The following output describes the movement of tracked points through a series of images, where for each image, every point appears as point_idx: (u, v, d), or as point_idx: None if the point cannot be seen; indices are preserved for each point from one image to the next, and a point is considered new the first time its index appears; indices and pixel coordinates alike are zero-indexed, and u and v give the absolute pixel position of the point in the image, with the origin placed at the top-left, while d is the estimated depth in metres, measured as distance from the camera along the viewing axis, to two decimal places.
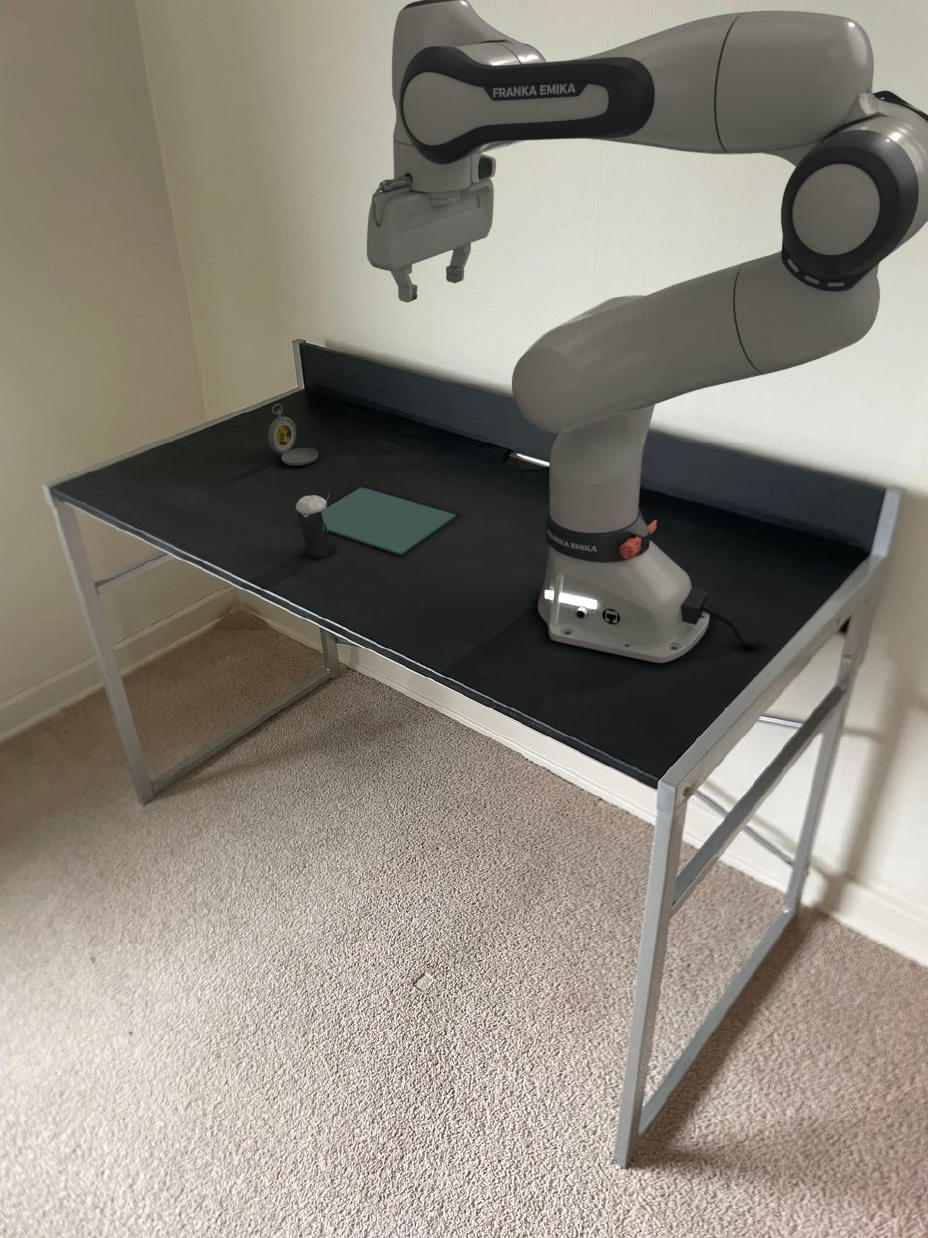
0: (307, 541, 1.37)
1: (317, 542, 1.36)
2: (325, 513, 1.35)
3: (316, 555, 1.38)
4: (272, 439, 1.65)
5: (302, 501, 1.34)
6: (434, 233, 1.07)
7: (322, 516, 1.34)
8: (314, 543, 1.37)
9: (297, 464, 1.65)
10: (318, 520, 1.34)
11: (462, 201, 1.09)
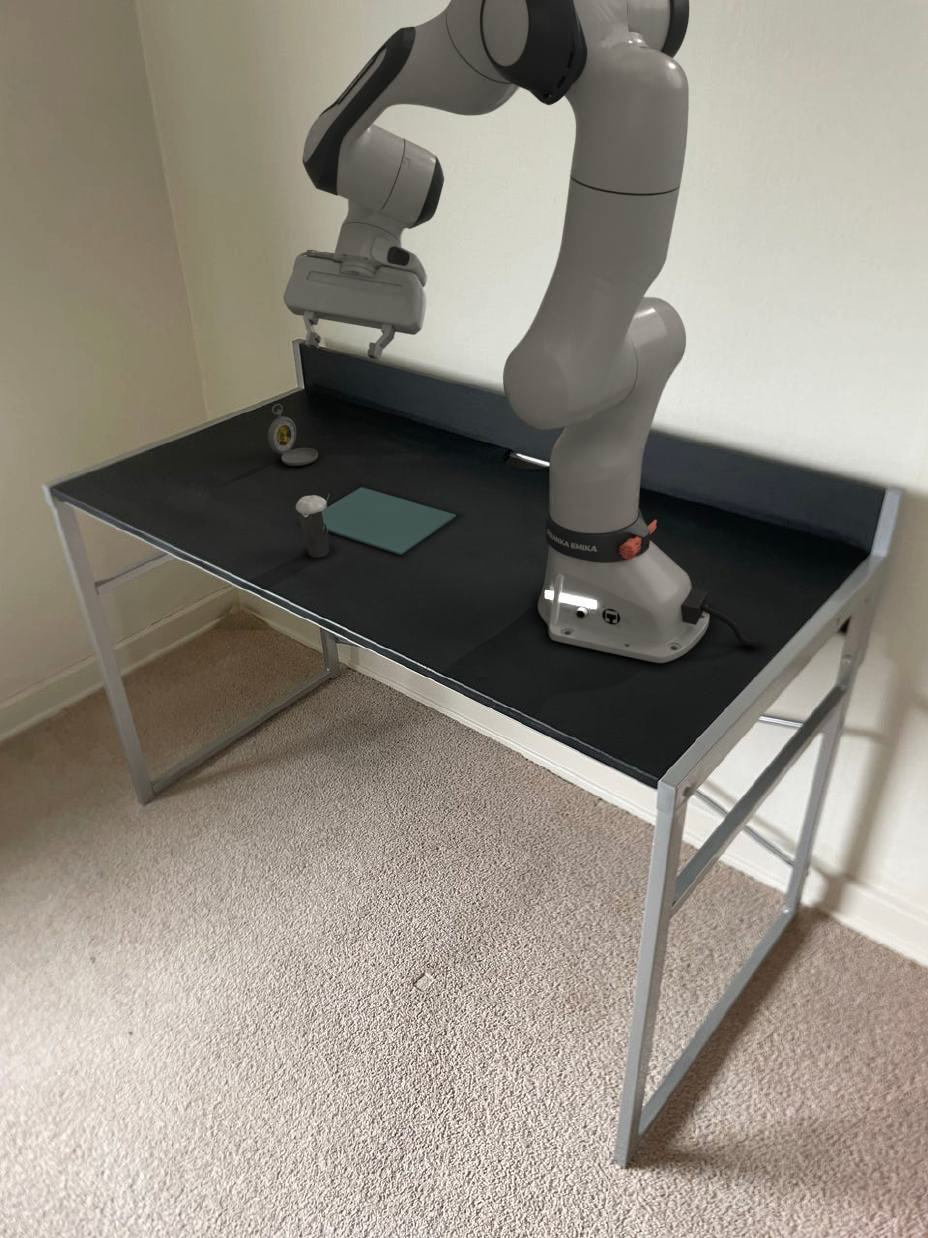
0: (307, 541, 1.37)
1: (317, 542, 1.36)
2: (325, 513, 1.35)
3: (316, 555, 1.38)
4: (272, 439, 1.65)
5: (302, 501, 1.34)
6: (338, 294, 1.28)
7: (322, 516, 1.34)
8: (314, 543, 1.37)
9: (297, 464, 1.65)
10: (318, 520, 1.34)
11: (381, 284, 1.28)
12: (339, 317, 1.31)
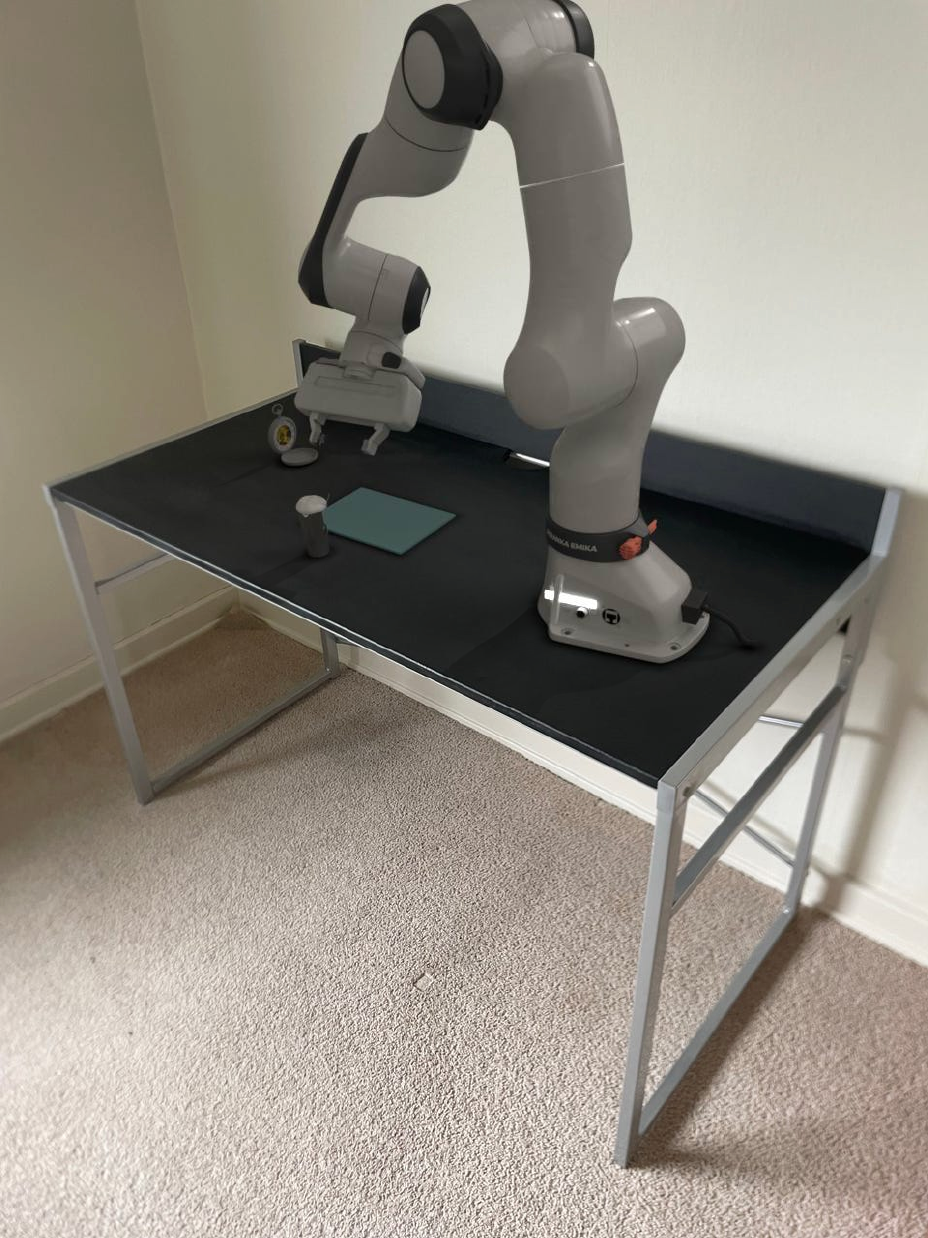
0: (307, 541, 1.37)
1: (317, 542, 1.36)
2: (325, 513, 1.35)
3: (316, 555, 1.38)
4: (272, 439, 1.65)
5: (302, 501, 1.34)
6: (340, 396, 1.38)
7: (322, 516, 1.34)
8: (314, 543, 1.37)
9: (297, 464, 1.65)
10: (318, 520, 1.34)
11: (377, 386, 1.36)
12: (343, 417, 1.40)
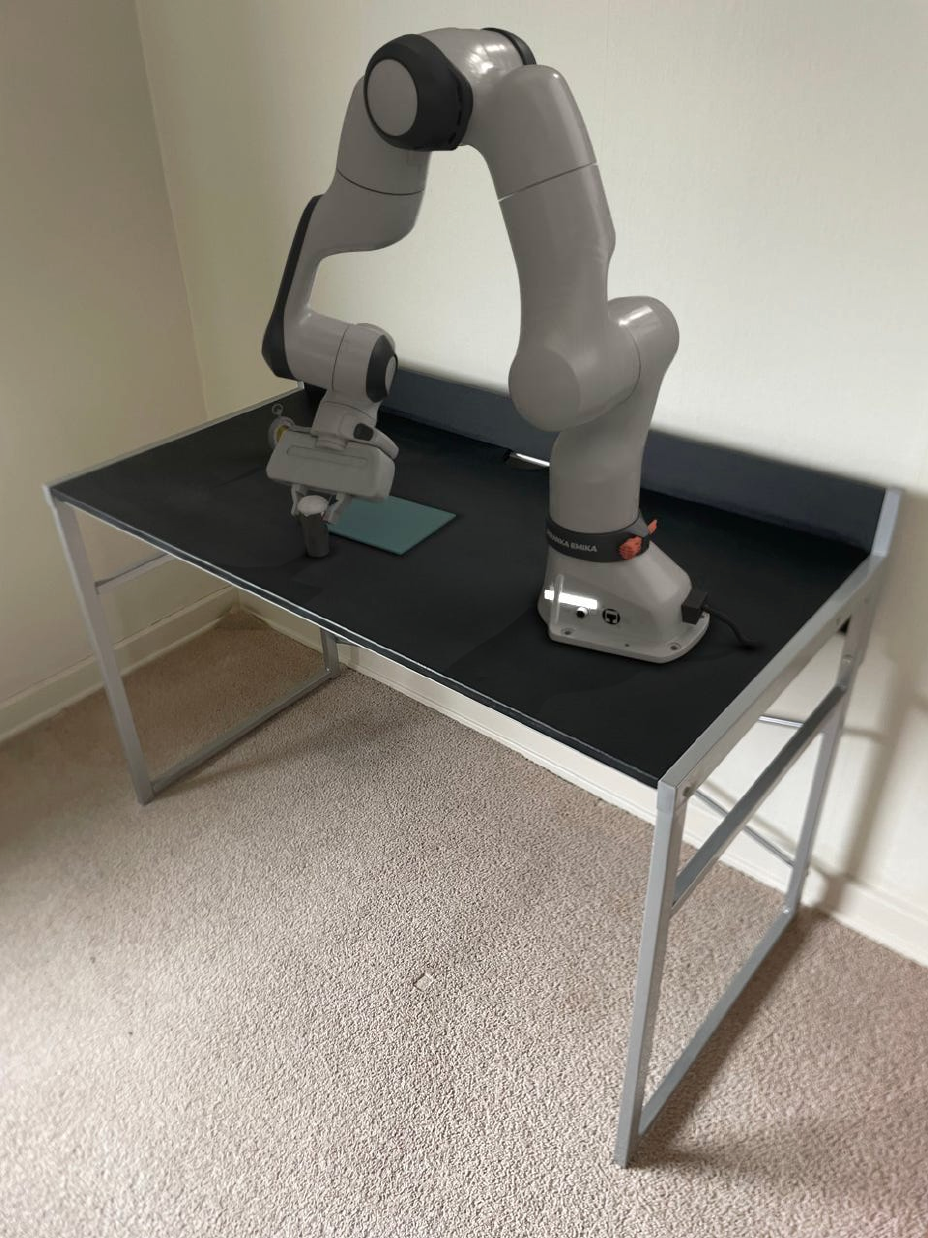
0: (308, 541, 1.37)
1: (317, 542, 1.36)
2: None
3: (316, 555, 1.38)
4: (272, 439, 1.65)
5: (304, 501, 1.34)
6: (312, 467, 1.36)
7: None
8: (314, 543, 1.36)
9: None
10: (319, 521, 1.34)
11: (350, 458, 1.34)
12: (316, 487, 1.38)
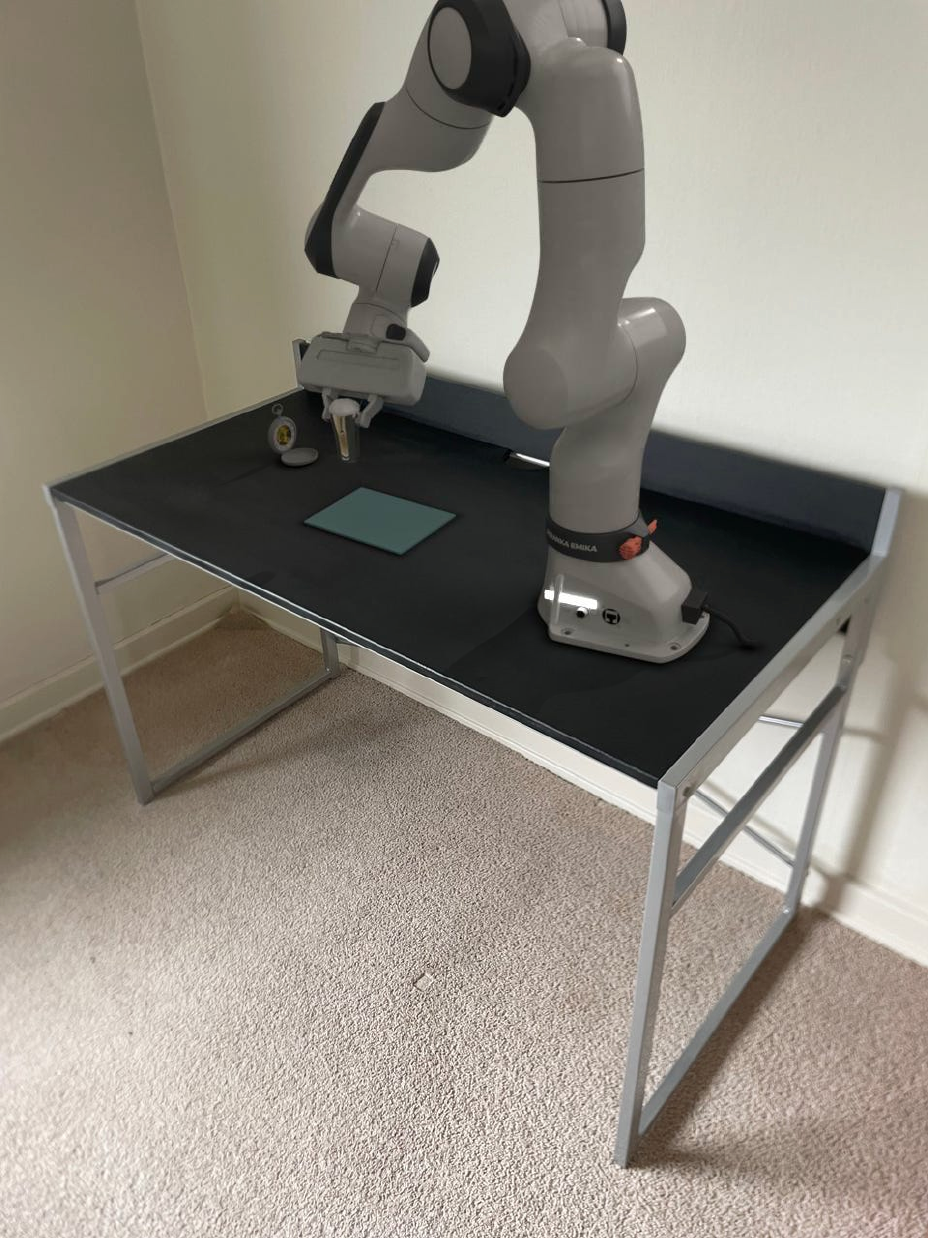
0: (339, 445, 1.36)
1: (349, 446, 1.36)
2: None
3: (346, 460, 1.37)
4: (272, 439, 1.65)
5: (336, 403, 1.33)
6: (343, 370, 1.35)
7: None
8: (345, 447, 1.36)
9: (297, 464, 1.65)
10: (351, 423, 1.34)
11: (382, 359, 1.33)
12: (346, 392, 1.37)
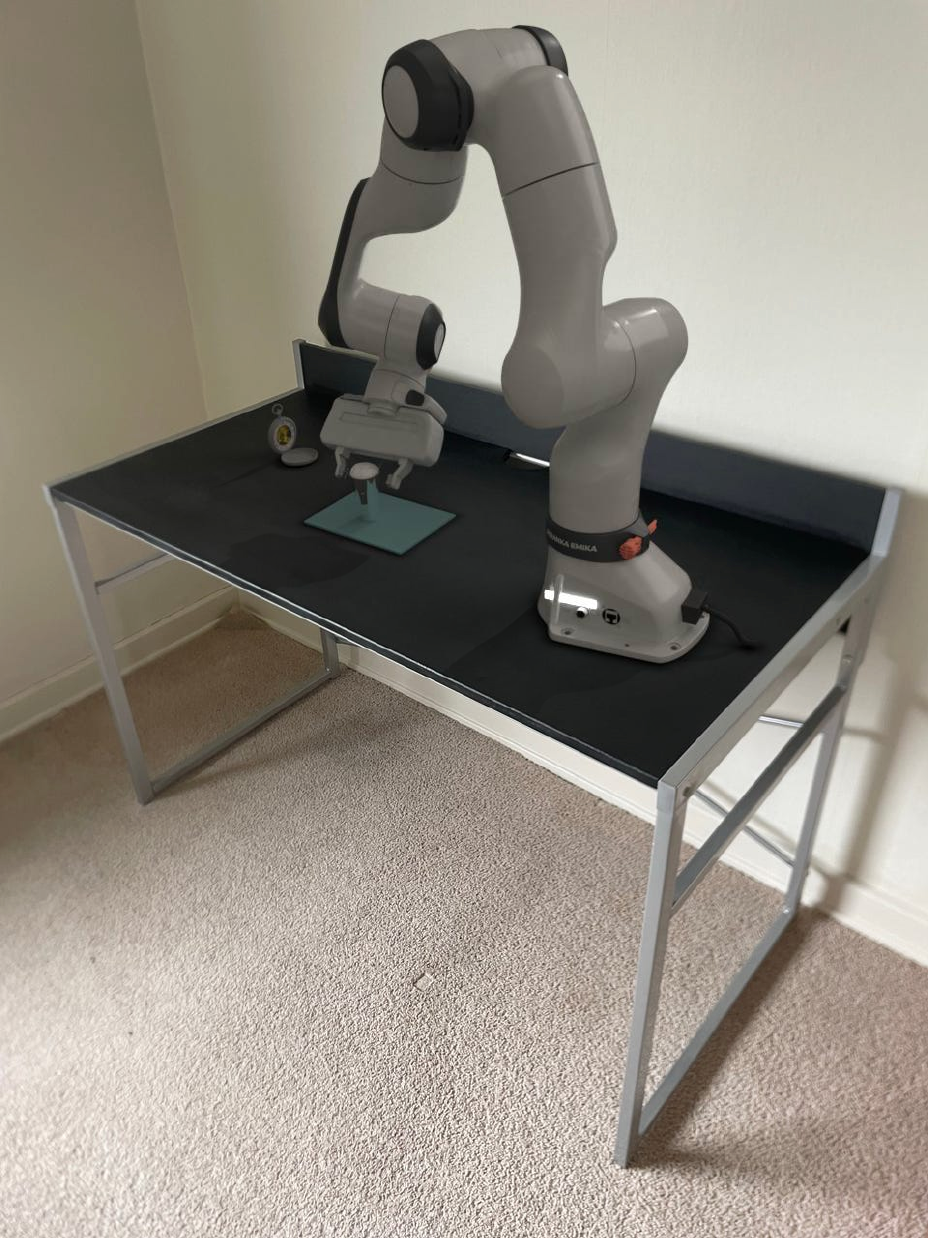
0: (360, 506, 1.44)
1: (369, 507, 1.44)
2: (377, 479, 1.43)
3: (368, 520, 1.46)
4: (272, 439, 1.65)
5: (356, 467, 1.42)
6: (364, 432, 1.43)
7: (375, 482, 1.42)
8: (366, 508, 1.44)
9: (297, 464, 1.65)
10: (370, 486, 1.42)
11: (401, 423, 1.41)
12: (367, 452, 1.45)
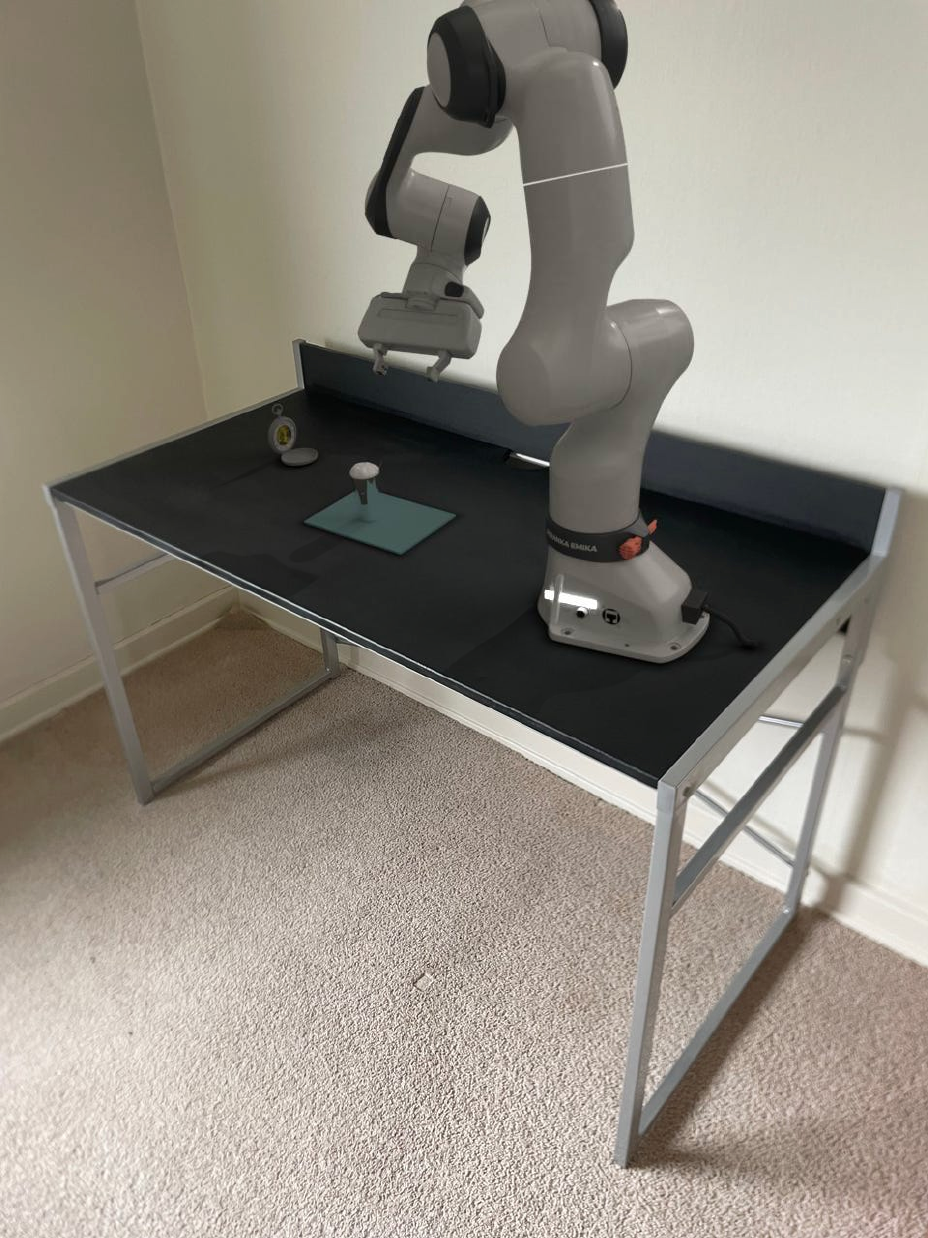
0: (360, 506, 1.44)
1: (369, 507, 1.44)
2: (377, 479, 1.43)
3: (368, 520, 1.46)
4: (272, 439, 1.65)
5: (356, 467, 1.42)
6: (403, 326, 1.43)
7: (375, 481, 1.42)
8: (366, 508, 1.44)
9: (297, 464, 1.65)
10: (371, 486, 1.42)
11: (440, 316, 1.42)
12: (405, 348, 1.46)
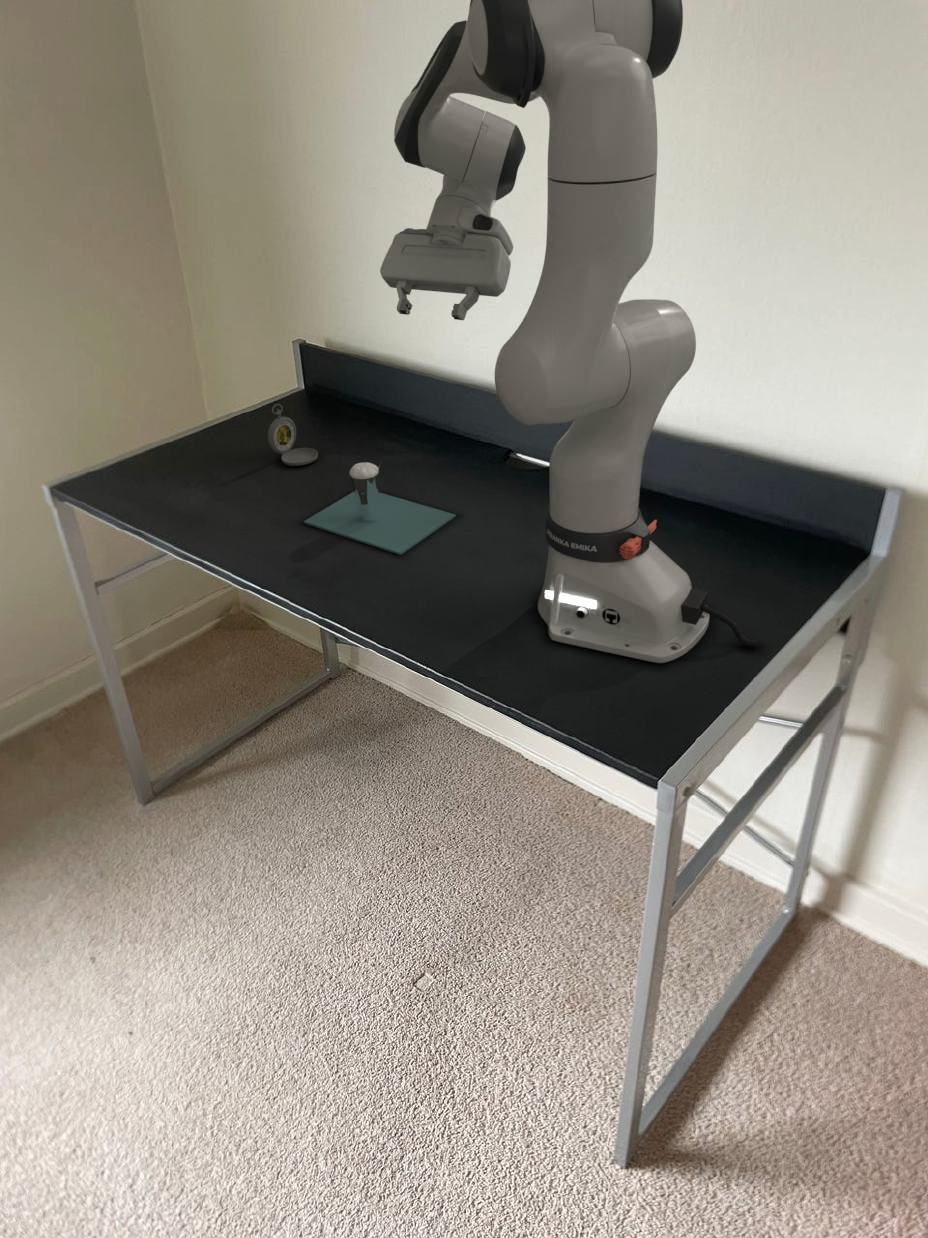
0: (360, 506, 1.44)
1: (369, 507, 1.44)
2: (377, 479, 1.43)
3: (368, 520, 1.46)
4: (272, 439, 1.65)
5: (356, 467, 1.42)
6: (428, 263, 1.37)
7: (375, 481, 1.42)
8: (366, 508, 1.44)
9: (297, 464, 1.65)
10: (371, 486, 1.42)
11: (467, 251, 1.35)
12: (430, 286, 1.40)
